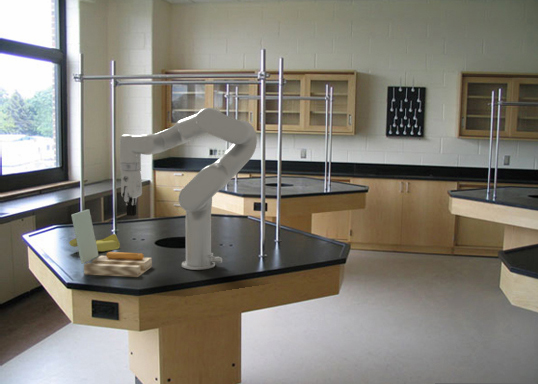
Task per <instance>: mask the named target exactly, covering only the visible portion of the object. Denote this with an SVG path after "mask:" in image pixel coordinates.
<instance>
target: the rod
mask: <svg viewBox="0 0 538 384" xmlns="http://www.w3.org/2000/svg"><path fill="white" fill-rule="evenodd" d="M105 256H107V258H111V259H134V260H142V259H143V258H144V254H143V253H142V252H140V253H139V252H120V251H119V252H118V251H107V252H106V255H105Z"/></svg>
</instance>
